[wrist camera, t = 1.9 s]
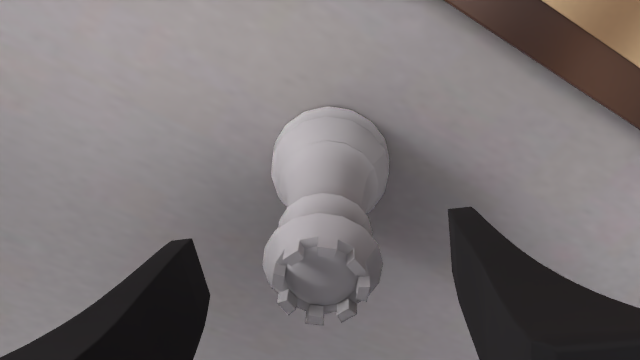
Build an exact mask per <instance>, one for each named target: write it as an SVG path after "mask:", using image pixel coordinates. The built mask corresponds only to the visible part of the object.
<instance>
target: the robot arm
mask: <svg viewBox="0 0 640 360" xmlns="http://www.w3.org/2000/svg"><path fill="white" fill-rule="evenodd" d="M448 217H449V232H450V247H451V262H452V273H453V277H454V282H455V287H456V291H457V295H458V300H459V304H460V306H461V309H462V312H463V315H464V318H465V321H466V323H467V326H468V329H469V332H470V334H471V337H472V340H473V343H474V346H475V348H476V351H477V354H478V357H479V359H480V360H640V308H637V307H634V306H631V305H628V304H625V303H622V302H620V301H617V300H614V299H611V298H609V297H606V296H604V295H601V294H599V293H596V292H594V291H592V290H589V289H587V288H585V287H583V286H581V285H579V284H576V283H574V282H572V281H570V280H568V279H566V278H564V277H563V276H561V275H559V274H557V273H556V272H554V271H552V270H550V269H549V268H547V267H545V266H544V265H542V264H540V263H539V262H537V261H536V260H534V259H533V258H531V257H530V256H529V255H527V254H526V253H524V252H523V251H522V250H520V249H519V248H518V247H516V246H515V245H514V244H513V243H511V242H510V241H509V240H508V239H507V238H505V237H504V236H503V235H502V234H501V233H499V232H498V231H497V230H496V229H495V228H494V227H493V226H492V225H491V224H489V223H488V222H487V221H486V220H485V219H484V218H483V217H482V216H481V215H480V214H479V213H478V212H477V211H476V210H475V209H473V208H472V207H463V208H455V209H448ZM209 300H210V293H209V290H208V287H207V283H206V280H205V277H204V274H203V271H202V268H201V265H200V262H199V259H198V255H197V252H196V249H195V246H194V243H193V240H192V239H183V240H175V241H171V242H169V243H168V244H167V245H165V246H164V247H163V248H161V249H160V250H159V251H158V252H156V253H155V254H154V255H153V256H152V257H151V258H149V259H148V260H147V261H146V262H145V263H144V264H142V265H141V266H140V267H139V268H138V269H136V270H135V271H134V272H133V273H132V274H131V275H129V276H128V277H127V278H126V279H125V280H123V281H122V282H121V283H120V284H118V285H117V286H116V287H115V288H113V289H112V290H111V291H109V292H108V293H107V294H106V295H104V296H103V297H102V298H101V299H99V300H98V301H97V302H95V303H94V304H93V305H91V306H90V307H88V308H87V309H85V310H84V311H83V312H81V313H80V314H78V315H76V316H75V317H73V318H72V319H70V320H69V321H67V322H66V323H64V324H62V325H61V326H59V327H57V328H56V329H54V330H52V331H50V332H49V333H47V334H45V335H43V336H42V337H40V338H38V339H36V340H34V341H33V342H31V343H29V344H27V345H25V346H23V347H21V348H19V349H17V350H15V351H13V352H11V353H9V354H7V355H5V356H3V357H0V360H193V358H194V355H195V353H196V350H197V347H198V344H199V341H200V338H201V335H202V332H203V329H204V326H205V321H206V316H207V311H208V306H209Z"/></svg>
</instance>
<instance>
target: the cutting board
mask: <svg viewBox="0 0 640 360" xmlns="http://www.w3.org/2000/svg"><path fill="white" fill-rule="evenodd" d="M444 1H445V2H447V3H448V4H450V5H451V6H453V7H454V8H456V9H458V10H459V11H461V12H462V13H464V14H465V15H467V16H468V17H470V18H471V19H473V20H474V21H476V22H477V23H479V24H480V25H482V26H483V27H485V28H486V29H488V30H489V31H491V32H492V33H494V34H495V35H497V36H498V37H500V38H501V39H503V40H504V41H506V42H508V43H509V44H511V45H512V46H514V47H515V48H517V49H518V50H520V51H521V52H523V53H524V54H526V55H527V56H529V57H530V58H532V59H533V60H535V61H536V62H538V63H539V64H541V65H542V66H544V67H545V68H547V69H548V70H550V71H551V72H553V73H554V74H556V75H558V76H559V77H561V78H562V79H564V80H565V81H567V82H568V83H570V84H571V85H573V86H574V87H576V88H577V89H579V90H580V91H582V92H583V93H585V94H586V95H588V96H589V97H591V98H592V99H594V100H595V101H597V102H598V103H600V104H601V105H603V106H605V107H606V108H608V109H609V110H611V111H612V112H614V113H615V114H617V115H618V116H620V117H621V118H623V119H624V120H626V121H627V122H629V123H630V124H632V125H633V126H635V127H636V128H638V129H639V130H640V0H444Z"/></svg>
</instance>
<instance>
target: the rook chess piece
mask: <svg viewBox="0 0 640 360" xmlns="http://www.w3.org/2000/svg"><path fill="white" fill-rule="evenodd" d="M389 162H390V158H389V154H388V150H387V145H386V141H385V139H384V137H383V136H382V135H381V133H380V132H379V131H378V129H377V128H376V127H375V125H374V124H373V123H372V121H370V120H368V119H366V118H365V117H363V116H361V115H359V114H358V113H356V112H354V111H353V110H350V109H343V108H336V107H329V106H326V107H322V108H317V109H313V110H309V111H305V112H303V113H301V114H300V115H299V116H297V117H296V118H294V119H293V120H292V121H290V122H289V123H287V124H286V125H285V126H284V128H283V130H282V131H281V133H280V135H279V136H278V138H277V140H276V142H275V143H274V151H273V159H272V169H271V176H272V179H273V182H274V185H275V188H276V191H277V194H278V197H279V199H280V200H281V201H282V202H283V203H284V205H285V206H286V207H287V209H286V211H285V212H284V214H283V215H282V217H281V218H280V220H279V226H278V229H276V230H275V232H274V233H273V235H272V236H271V238H270V239H269V241H268V242H267V244H266V245H265V247H264V256H263V266H262V267H263V269H264V272H265V275H266V277H267V280H268V282H269V285H270V286H271V287H272V289H274V290H275V291H276V292H277V293H278V294H279V296H278V301H277V304H278V305H279V306H280V307H281V308H282V309H283V310H284V311H285V312H286V313H287V314H288V315H290V314H291V313H292V312H293V311H295V310H296V307H298V308H300V309H302V310H304V311H306V320H305V323H307V324H315V325H322V326H323V325H324V314H328V313H334V312H337V316H338V318H339V319H340V321H341V323H342V322H344V321H346V320H347V319H349V318H351V317H353V316H355V315H357V303H359V302H361V301H365V302H367V299H368V296H369V294H370V293H371V292H372V291H373V289H374V288H375V287H376V286H377V284H378V283H379V280H380V276H381V271H382V267H383V261H382V257H381V253H380V249H379V245H378V244H377V242H376V241H375V240H374V239H373V238H372V235H373V233H372V229H371V225H370V221H369V218H368V217H367V215H366V214H367V213H369V212H371V211H372V209H373V208H374V207H375V205H376V204H377V202H378V201H379V200H380V198H381V197H382V196H383V194H384V192H385V189H386V184H387V180H388V175H389Z"/></svg>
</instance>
